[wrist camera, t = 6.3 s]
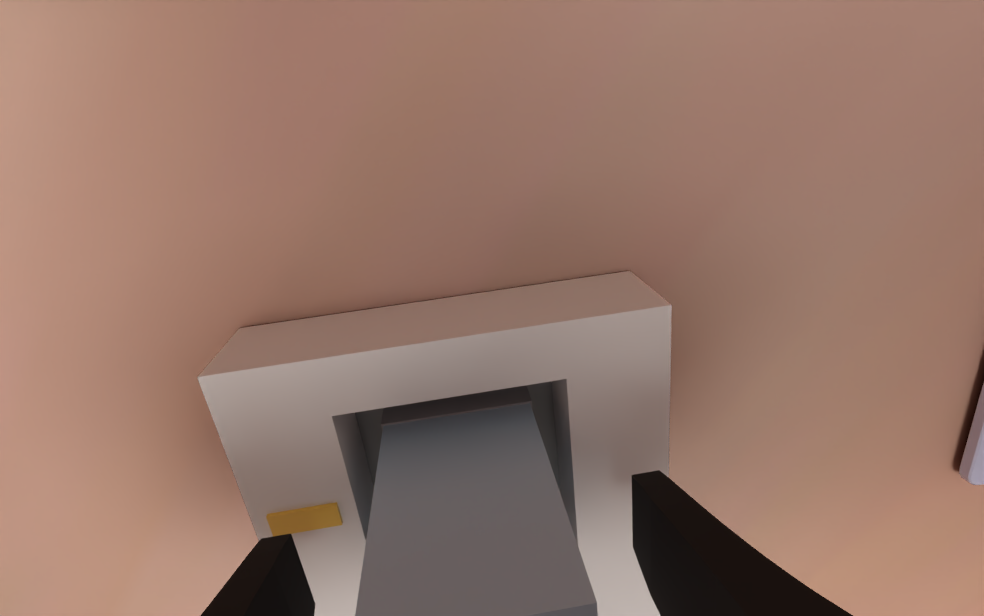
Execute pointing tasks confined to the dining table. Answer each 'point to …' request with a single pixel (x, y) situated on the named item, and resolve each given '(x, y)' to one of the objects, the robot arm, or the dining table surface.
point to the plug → (469, 515)
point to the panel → (442, 374)
